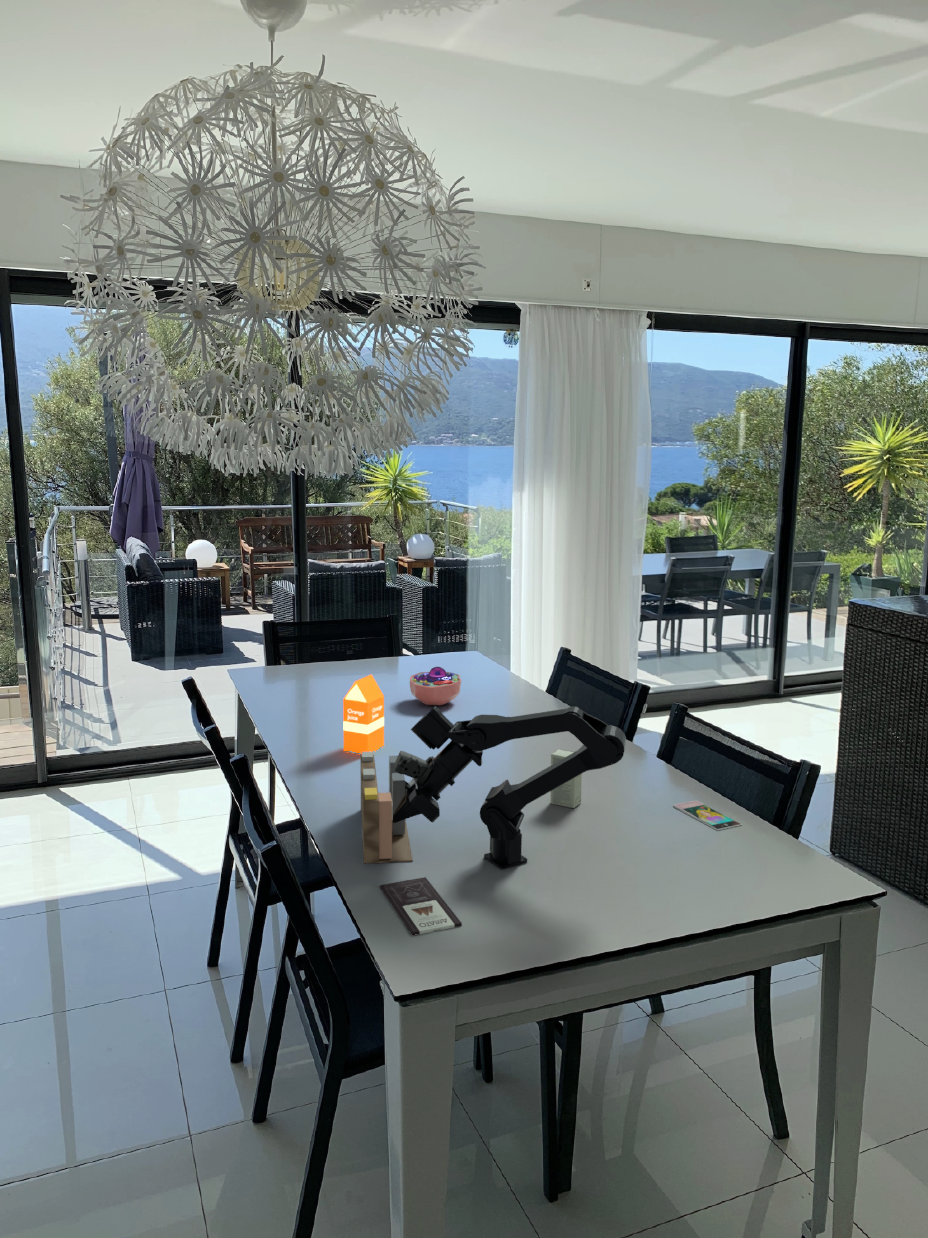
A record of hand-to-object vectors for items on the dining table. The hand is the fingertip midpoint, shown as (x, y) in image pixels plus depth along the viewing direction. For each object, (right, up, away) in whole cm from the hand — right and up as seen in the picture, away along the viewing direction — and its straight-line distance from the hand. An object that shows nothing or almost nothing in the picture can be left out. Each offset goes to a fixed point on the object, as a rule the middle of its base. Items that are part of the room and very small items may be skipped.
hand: (392, 821), depth 180 cm
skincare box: (+38, -3, +30) cm, 48 cm away
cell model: (+5, +13, +111) cm, 112 cm away
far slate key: (-1, -3, +23) cm, 23 cm away
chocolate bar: (+6, -12, -18) cm, 22 cm away
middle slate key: (0, -5, +12) cm, 13 cm away
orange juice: (-13, +5, +66) cm, 67 cm away
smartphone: (+69, -5, +24) cm, 73 cm away
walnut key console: (-3, -5, +12) cm, 13 cm away
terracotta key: (-2, -7, +1) cm, 8 cm away
